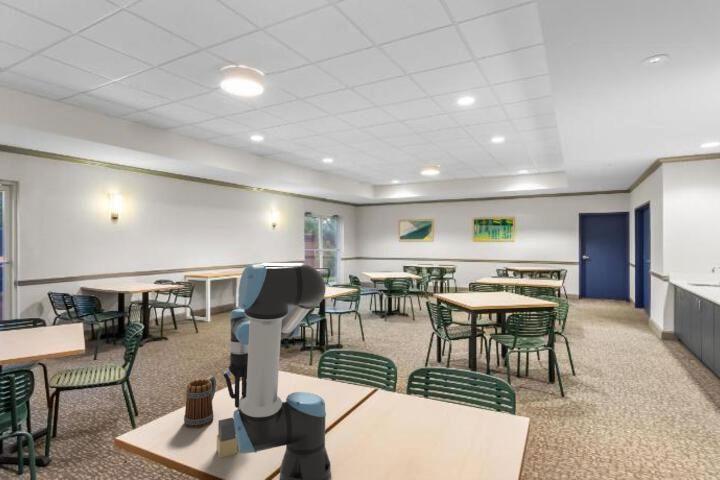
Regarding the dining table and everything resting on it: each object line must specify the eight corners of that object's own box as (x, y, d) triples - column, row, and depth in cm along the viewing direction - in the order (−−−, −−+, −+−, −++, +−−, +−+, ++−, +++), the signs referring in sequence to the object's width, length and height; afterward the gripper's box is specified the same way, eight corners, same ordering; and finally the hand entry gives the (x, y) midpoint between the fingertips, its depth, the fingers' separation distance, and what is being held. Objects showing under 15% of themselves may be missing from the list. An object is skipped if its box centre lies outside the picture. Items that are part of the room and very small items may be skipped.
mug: (203, 429, 147) (203, 389, 147) (177, 426, 149) (178, 386, 149) (225, 411, 162) (226, 375, 162) (202, 409, 164) (202, 373, 164)
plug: (237, 453, 131) (237, 423, 131) (219, 457, 128) (220, 426, 128) (233, 446, 135) (233, 416, 135) (216, 450, 133) (216, 420, 133)
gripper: (255, 346, 153) (255, 407, 153) (220, 351, 147) (219, 415, 147) (261, 351, 147) (260, 415, 147) (224, 356, 140) (224, 423, 140)
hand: (240, 415), depth 147 cm, fingers closed
